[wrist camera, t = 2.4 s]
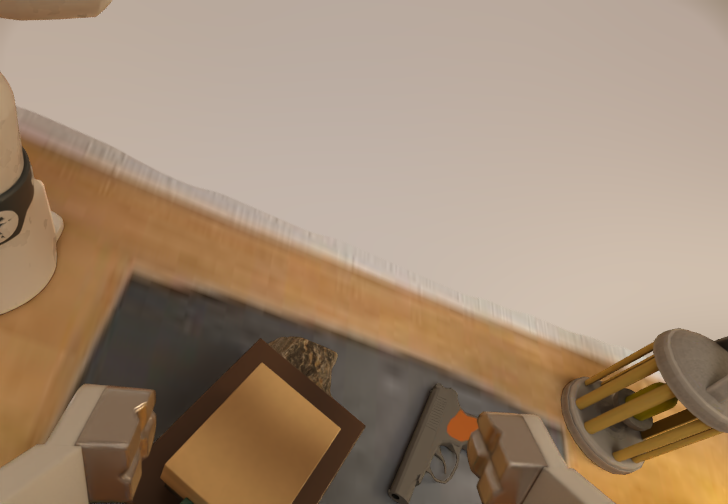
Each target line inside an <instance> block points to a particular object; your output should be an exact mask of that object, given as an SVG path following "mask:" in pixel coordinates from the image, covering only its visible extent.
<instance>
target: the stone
mask: <svg viewBox="0 0 728 504" xmlns="http://www.w3.org/2000/svg"><path fill="white" fill-rule="evenodd" d="M268 345H269V346H271V347H272V348H273V349H274V350H275V351H277V352H278V353H279V354H280V355H281V356H283V357H284V358H285V359H286V360H287V361H289V362H290V363H291V364H292V365H293V366H295V367H296V368H297V369H298V370H299V371H301V372H302V373H303V374H304V375H305V376H307V377H308V378H309V379H310V380H311V381H313V382H314V383H315V384H316V385H317V386H319V387H320V388H321V389H322V390H323V391H325V392H326V393H327V394H328V395H329V396H331V394H330V385H331V370H332V367H333V365H334V364H335V362H336V360H337V356H338V355H337V353H336V352H334V351H332V350H330V349H328V348H326V347H324V346H321V345H319V344H316V343H314V342H311V341H309V340H306V339H304V338H301V337H288V338H287V337H280V338H278V339H276V340H275V341H273V342H270V343H269V344H268ZM331 397H332V396H331Z"/></svg>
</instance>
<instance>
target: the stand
mask: <svg viewBox="0 0 728 504" xmlns="http://www.w3.org/2000/svg"><path fill="white" fill-rule="evenodd" d="M261 363H263V364H265V365H266V366H267V367H268V368H269V369H271V370H272V371H273V372H274V373H275V374H277V375H278V376H279V377H280V378H281V379H282V380H284V381H285V382H286V383H287V384H288V385H290V386H291V387H292V388H293V389H294V390H296V391H297V392H298V393H299V394H300V395H302V396H303V397H304V398H305V399H306V400H307V401H309V402H310V403H311V404H312V405H313V406H315V407H316V408H317V409H318V410H319V411H321V412H322V413H323V414H324V415H325V416H327V417H328V418H329V419H330V420H331V421H332V422H334V423H335V424H336V425H337V426H338V427H340V428H341V430H340V431H339V433H338V434H337V436H336V437H335V439H334V440H333V442H332V443H331V445H330V447H329V448H328V450H327V451H326V453H325V454H324V456H323V457H322V459H321V460H320V462H319V463H318V465H317V466H316V468H315V469H314V471H313V472H312V474H311V475H310V477H309V478H308V480H307V481H306V483H305V484H304V486H303V487H302V489H301V490H300V492H299V493H298V495H297V496H296V498H295V499H294V501H293V502H292V504H318V503H319V502H320V500H321V498H322V497H323V495H324V493H325V492H326V490H327V489H328V487H329V485H330V484H331V482H332V480H333V479H334V477H335V476H336V474H337V472H338V471H339V469H340V467H341V466H342V464H343V463H344V461H345V459H346V458H347V456H348V454H349V453H350V451H351V450H352V448H353V446H354V445H355V443H356V441H357V440H358V438H359V436H360V435H361V433H362V432H363V430H364V428H365V425H364V424H363V423H362V422H361V421H359V420H358V419H357V418H356V417H355V416H353V415H352V414H351V413H350V412H349V411H347V410H346V409H345V408H344V407H343V406H341V405H340V404H339V403H338V402H337V401H335V400H334V399H333V398H332V397H331V396H329V395H328V394H327V393H326V392H325V391H323V390H322V389H321V388H320V387H319V386H317V385H316V384H315V383H314V382H313V381H311V380H310V379H309V378H308V377H307V376H305V375H304V374H303V373H302V372H301V371H299V370H298V369H297V368H296V367H295V366H293V365H292V364H291V363H290V362H289V361H287V360H286V359H285V358H284V357H283V356H281V355H280V354H279V353H278V352H277V351H275V350H274V349H273V348H272V347H271V346H269V345H268V344H267V343H266V342H265V341H263V340H262V339H259V340H258V341H257V342H256V343H255V344H254V345H253V346H252V347H251V348H250V349H249V350H248V351H247V352H246V353H245V354H244V355H243V356H242V357H241V358H240V359H239V360H238V361H237V362H236V363H235V364H234V365H233V366H232V367H231V368H230V369H229V370H228V371H227V372H226V373H225V374H224V375H223V376H222V377H221V378H220V379H219V380H218V381H217V382H216V383H215V384H213V385H212V386H211V387H210V388H209V389H208V390H207V391H206V392H205V393H204V394H203V395H202V396H201V397H200V398H199V399H198V400H197V401H196V402H195V403H194V404H193V405H192V406H191V407H190V408H189V409H188V410H187V411H186V412H185V413H184V414H183V415H182V416H181V417H180V418H179V419H178V420H177V421H176V422H175V423H174V424H173V425H172V426H171V427H170V428H169V429H168V430H167V431H166V432H165V433H164V434H163V435H162V436H161V437H160V438H159V439H158V440H157V441H156V442H155V443H154V444H153V445H152V447H151V450H150V453H149V456H148V457H147V458H146V459H145V460H144V461H142V462H141V465H142V475H141V478H140V481H139V484H138V486H137V489H136V492H135V494H134V497H133V500H132V503H125V504H180V503H181V501H180V500H179V499H178V498H177V497H176V496H174V495H173V494H172V493H171V492H170V491H169V490H168V489H167V488H166V487H165V486H164V485H165V482H164V481H163V480H162V479H161V478H160V477H161V474H162V471H163V468H164V465H165V463H166V462H167V461H168V460H169V459H170V458H171V457H172V456H173V455H174V454H175V453H176V452H177V451H178V450H179V449H180V448H181V447H182V445H183V444H184V443H185V442H186V441H187V440H188V439H189V438H190V437H191V436H192V435H193V434H194V433H195V432H196V431H197V430H198V429H199V428H200V427H201V426H202V424H203V423H204V422H205V421H206V420H207V419H208V418H209V417H210V416H211V415H212V414H213V413H214V412H215V411H216V410H217V409H218V408H219V407H220V406H221V404H222V403H223V402H224V401H225V400H226V399H227V398H228V397H229V396H230V395H231V394H232V393H233V392H234V391H235V390H236V389H237V388H238V387H239V386H240V385H241V383H242V382H243V381H244V380H245V379H246V378H247V377H248V376H249V375H250V374H251V373H252V372H253V371H254V370H255V369H256V368H257V367H258V366H259V365H260V364H261Z"/></svg>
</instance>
